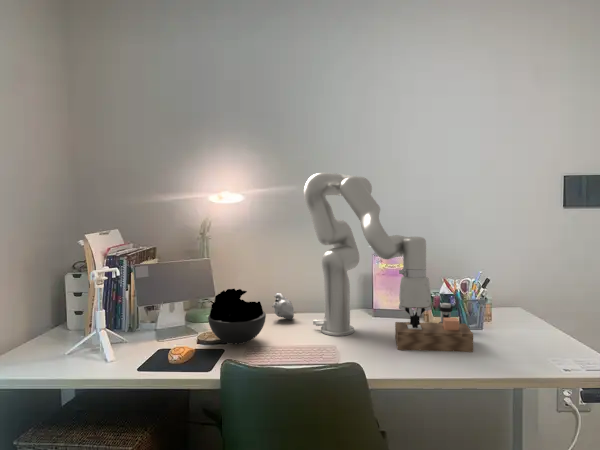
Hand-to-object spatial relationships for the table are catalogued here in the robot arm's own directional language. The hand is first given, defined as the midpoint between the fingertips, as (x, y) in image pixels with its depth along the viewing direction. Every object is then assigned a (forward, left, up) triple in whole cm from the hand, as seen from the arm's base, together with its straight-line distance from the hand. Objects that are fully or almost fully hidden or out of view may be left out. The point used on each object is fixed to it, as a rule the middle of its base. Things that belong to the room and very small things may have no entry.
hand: (414, 326), depth 159 cm
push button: (+14, +18, -7) cm, 24 cm away
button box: (+6, 0, -6) cm, 9 cm away
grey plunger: (0, 0, -6) cm, 6 cm away
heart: (-49, +25, -7) cm, 56 cm away
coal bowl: (-61, -4, -7) cm, 62 cm away
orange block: (+12, 0, -3) cm, 12 cm away
